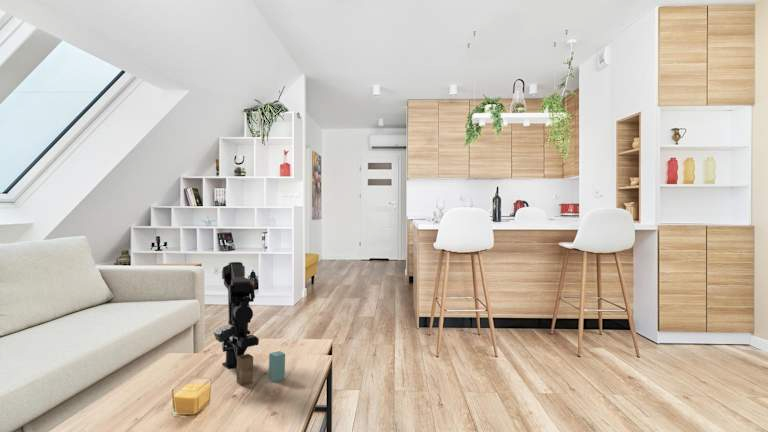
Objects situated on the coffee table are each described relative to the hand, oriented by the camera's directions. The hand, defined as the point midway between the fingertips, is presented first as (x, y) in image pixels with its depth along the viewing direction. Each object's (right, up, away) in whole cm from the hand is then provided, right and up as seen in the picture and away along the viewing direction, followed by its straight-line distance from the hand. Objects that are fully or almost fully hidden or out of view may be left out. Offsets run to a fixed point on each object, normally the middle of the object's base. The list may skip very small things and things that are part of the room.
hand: (238, 360), depth 143 cm
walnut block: (+3, -6, -4) cm, 8 cm away
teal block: (+13, -7, 0) cm, 15 cm away
